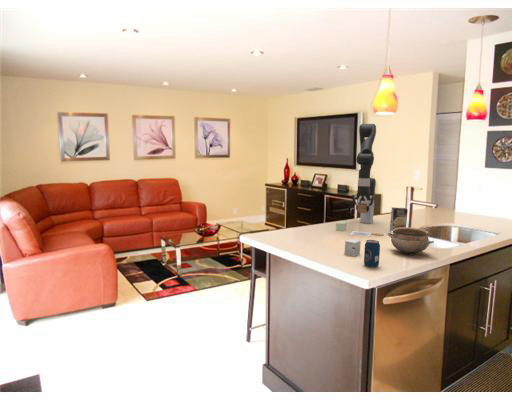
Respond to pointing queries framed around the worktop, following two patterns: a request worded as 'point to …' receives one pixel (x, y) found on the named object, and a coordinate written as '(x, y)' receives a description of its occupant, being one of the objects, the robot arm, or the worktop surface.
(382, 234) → the coaster
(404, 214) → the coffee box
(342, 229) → the sage cube
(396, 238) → the cooking pot
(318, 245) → the worktop surface
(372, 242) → the soda can
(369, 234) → the letter
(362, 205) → the walnut block
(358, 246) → the skincare box
